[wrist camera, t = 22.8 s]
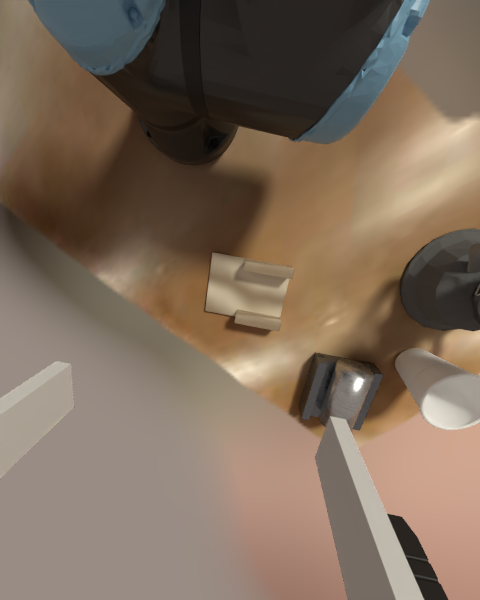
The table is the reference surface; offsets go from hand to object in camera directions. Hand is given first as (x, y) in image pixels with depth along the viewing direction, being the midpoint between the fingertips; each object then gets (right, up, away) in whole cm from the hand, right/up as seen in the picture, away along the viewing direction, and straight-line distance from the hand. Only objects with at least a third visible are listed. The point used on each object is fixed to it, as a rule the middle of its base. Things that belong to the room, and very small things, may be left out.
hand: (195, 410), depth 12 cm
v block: (+21, -12, +35) cm, 43 cm away
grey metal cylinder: (+22, -11, +33) cm, 41 cm away
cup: (+35, -6, +32) cm, 48 cm away
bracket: (+4, +8, +31) cm, 32 cm away
